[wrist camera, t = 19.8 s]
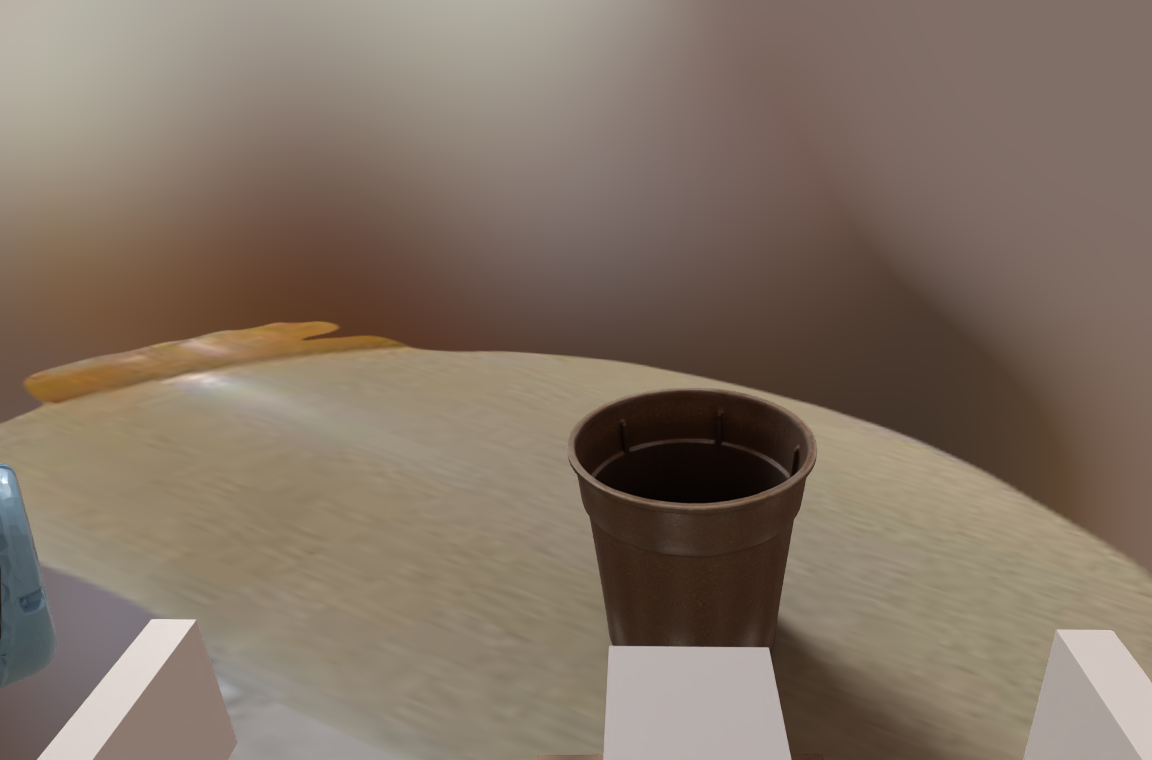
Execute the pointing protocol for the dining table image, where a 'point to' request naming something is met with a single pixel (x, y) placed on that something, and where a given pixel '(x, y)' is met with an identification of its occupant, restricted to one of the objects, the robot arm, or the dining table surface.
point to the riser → (599, 758)
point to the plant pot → (692, 512)
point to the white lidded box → (693, 704)
